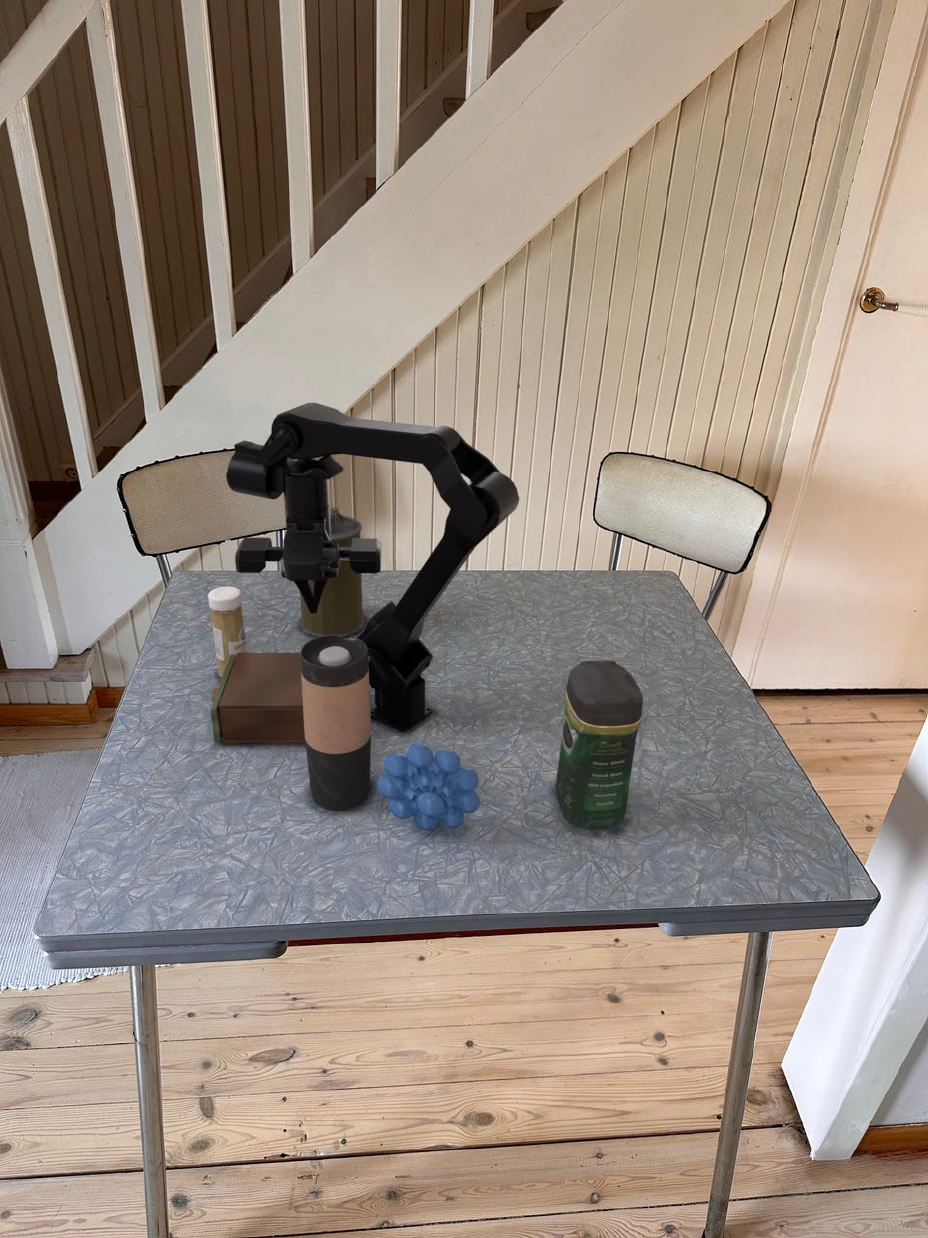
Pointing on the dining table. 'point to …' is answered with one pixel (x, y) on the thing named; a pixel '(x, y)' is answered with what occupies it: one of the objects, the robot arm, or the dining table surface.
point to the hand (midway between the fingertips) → (313, 612)
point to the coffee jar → (598, 744)
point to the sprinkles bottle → (227, 624)
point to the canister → (338, 589)
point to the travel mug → (337, 720)
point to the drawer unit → (263, 700)
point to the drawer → (216, 700)
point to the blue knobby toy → (429, 787)
